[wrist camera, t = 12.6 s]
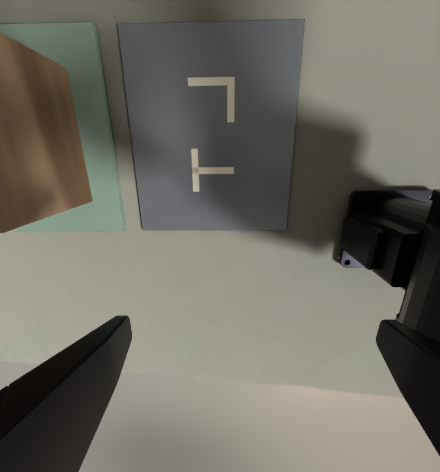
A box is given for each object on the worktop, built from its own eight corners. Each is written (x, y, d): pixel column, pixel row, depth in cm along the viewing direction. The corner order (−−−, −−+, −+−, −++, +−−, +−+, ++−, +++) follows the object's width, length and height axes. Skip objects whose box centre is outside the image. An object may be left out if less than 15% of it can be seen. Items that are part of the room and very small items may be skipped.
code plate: (303, 21, 15) (304, 19, 15) (285, 229, 20) (286, 230, 19) (118, 25, 15) (117, 23, 15) (143, 229, 20) (142, 230, 20)
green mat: (96, 26, 15) (92, 22, 15) (126, 229, 20) (123, 231, 20) (-38, 29, 16) (-46, 25, 15) (22, 229, 20) (17, 231, 20)
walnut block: (66, 68, 16) (-79, -11, 8) (92, 201, 19) (2, 232, 11) (0, 70, 16) (-204, -6, 8) (36, 202, 19) (-91, 233, 11)
